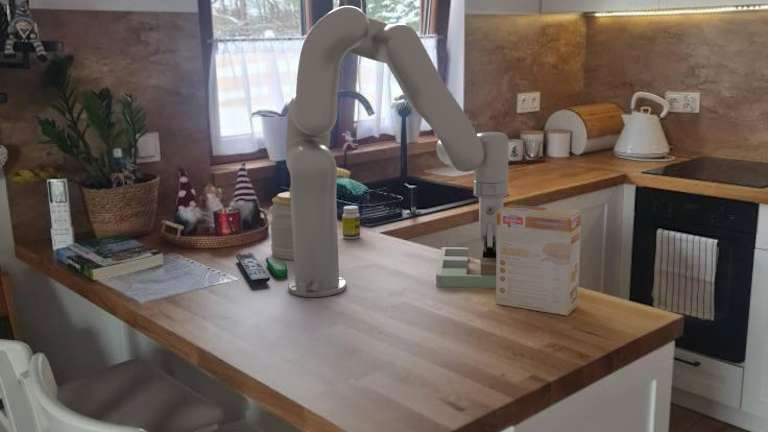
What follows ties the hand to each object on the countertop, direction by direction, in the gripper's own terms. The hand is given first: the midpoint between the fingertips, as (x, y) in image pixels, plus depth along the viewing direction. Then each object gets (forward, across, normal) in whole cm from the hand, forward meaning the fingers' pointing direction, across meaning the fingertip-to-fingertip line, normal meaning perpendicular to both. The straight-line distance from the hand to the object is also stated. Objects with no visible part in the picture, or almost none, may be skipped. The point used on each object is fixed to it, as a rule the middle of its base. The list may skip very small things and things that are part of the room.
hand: (489, 267), depth 172 cm
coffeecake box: (+2, -20, -9) cm, 22 cm away
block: (+2, -7, -1) cm, 7 cm away
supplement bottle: (+2, +30, +38) cm, 48 cm away
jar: (+2, +13, +48) cm, 50 cm away
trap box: (+1, +1, +3) cm, 3 cm away
